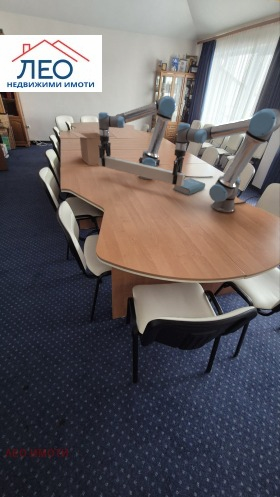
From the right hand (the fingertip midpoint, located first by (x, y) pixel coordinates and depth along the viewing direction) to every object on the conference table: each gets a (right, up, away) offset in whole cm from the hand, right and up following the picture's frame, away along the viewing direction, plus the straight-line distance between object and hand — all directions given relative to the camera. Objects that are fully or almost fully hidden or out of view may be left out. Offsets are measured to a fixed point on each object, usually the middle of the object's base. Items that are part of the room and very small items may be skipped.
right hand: (175, 182), depth 163 cm
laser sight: (-17, +43, +77) cm, 90 cm away
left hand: (-56, +22, +25) cm, 65 cm away
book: (+15, +2, +24) cm, 28 cm away
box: (-76, +45, +73) cm, 115 cm away
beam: (-28, +11, +13) cm, 33 cm away
